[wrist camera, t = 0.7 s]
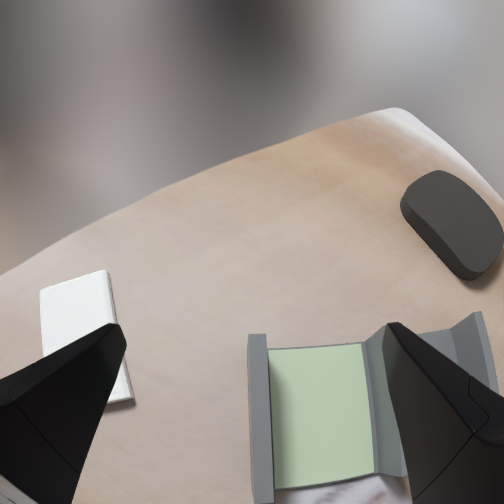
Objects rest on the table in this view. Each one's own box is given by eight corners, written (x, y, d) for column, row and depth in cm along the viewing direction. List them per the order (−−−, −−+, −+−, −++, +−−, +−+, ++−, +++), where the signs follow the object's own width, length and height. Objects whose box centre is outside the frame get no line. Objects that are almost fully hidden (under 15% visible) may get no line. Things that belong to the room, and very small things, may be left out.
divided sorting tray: (473, 436, 18) (503, 431, 15) (251, 490, 17) (254, 503, 14) (456, 328, 25) (481, 310, 21) (246, 350, 24) (248, 334, 20)
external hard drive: (111, 276, 28) (136, 399, 21) (46, 297, 26) (59, 414, 19) (105, 268, 26) (130, 396, 20) (38, 290, 24) (50, 412, 18)
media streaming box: (387, 205, 34) (396, 189, 32) (438, 175, 39) (446, 162, 36) (465, 293, 28) (480, 280, 25) (501, 242, 32) (512, 230, 30)
